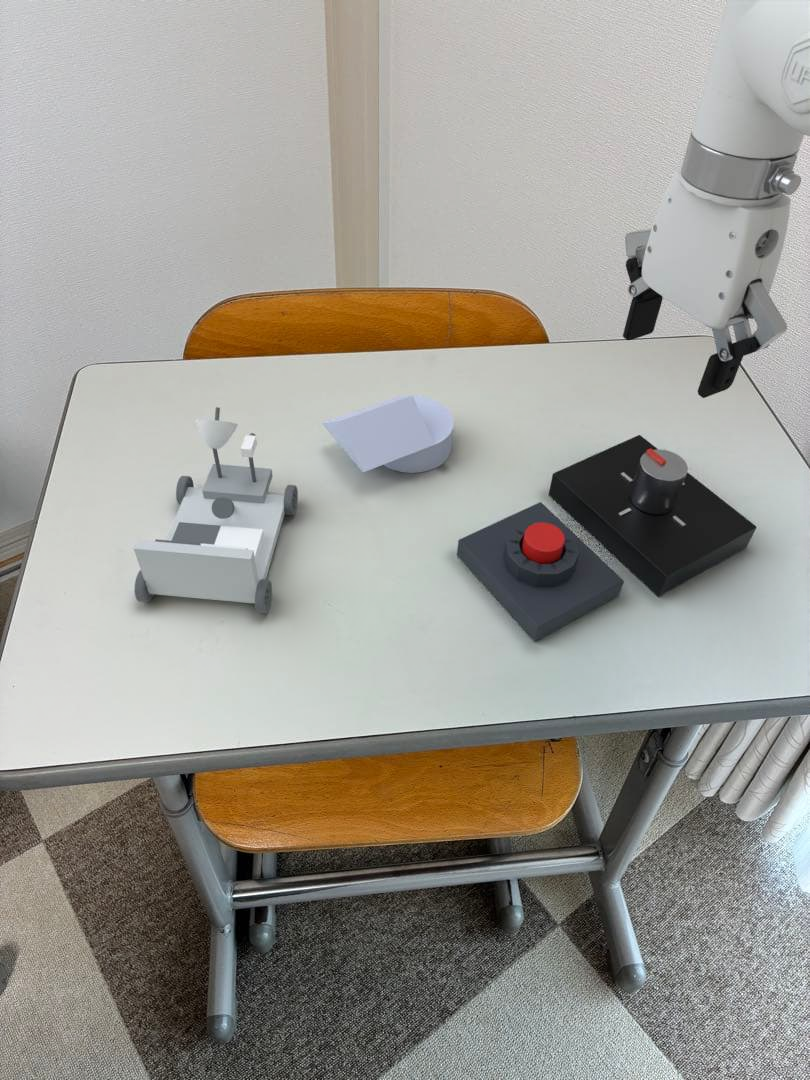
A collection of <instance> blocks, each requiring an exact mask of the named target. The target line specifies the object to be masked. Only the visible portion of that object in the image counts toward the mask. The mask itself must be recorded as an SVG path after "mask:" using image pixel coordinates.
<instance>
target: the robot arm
mask: <svg viewBox="0 0 810 1080" xmlns="http://www.w3.org/2000/svg"><path fill="white" fill-rule="evenodd" d="M690 131H691V132H690V134H689V139H688V142H687V147H686V149H685V154H684V157H683V161H682V164H681V166H679V167H678V168H677V169H676V170H675V172H674V174H673V176H672V177H671V180H670V181H669V184H668V186H667V187H666V191H665V192H664V195H663V197H662V200H661V202H660V205H659V208H658V210H657V213H656V215H655V218H654V220H653V223H652V227H651V228H648V229H638V230H635V231H631V232H627V233H626V234H625V237H624V239H625V240H624V241H625V252H626V257H627V260H626V261H625V268H626V269H625V270H626V272H627V276H628V278H629V281H630V284H629V285H628V288H627V292H628V295H629V296H630V297H631V298H632V299H631V302H630V305H629V310H628V314H627V318H626V321H625V324H624V325H625V326H624V329H623V333H622V337H623V338H624V340H626V341H633V340H635V339H638V338H641V337H645V336H647V335H651V334H652V333H654V330H655V327H656V324H657V320H658V316H659V313H660V310H661V307H662V303H663V299H666V300H667V301H668V302H670V303H671V304H672V305H674V306H675V307H677V308H679V309H680V310H681V311H683V312H684V313H686V314H687V315H689V316H690V317H692V318H693V319H695V320H696V321H698V322H699V323H701V324H702V325H704V326H706V327H707V328H710V329H711V331H712V336H713V340H714V344H715V348H716V353H713V354H711V355H710V356H709V358H708V360H707V363H706V366H705V369H704V372H703V374H702V377H701V380H700V382H699V386H698V389H697V395H698V396H700V397H701V398H702V399H705V398H708V397H711V396H712V395H716V394H719V393H722V392H724V391H727V390H728V389H729V388H731V386H732V385H733V383H734V381H735V379H736V376H737V373H738V371H739V368H740V365H741V364H742V361H743V358H744V356H747V355H750V354H754V353H756V352H758V351H759V352H760V351H761V350H765V349H767V348H768V347H770V344H772V343H773V342H775V341H776V340H778V338H780V337H781V336H783V334H785V333H786V331H787V330H788V325H787V322H786V320H785V319H784V317H783V316H782V314H781V312H780V311H779V309H778V308H777V306H776V305H775V302H774V300H772V298H771V296H770V291H771V290H772V287H773V284H774V280H775V276H776V274H777V270H778V267H779V263H780V260H781V256H782V252H783V249H784V244H785V240H786V235H787V231H788V226H789V219H790V211H791V201H792V199H791V198H790V197H789V196H791V195H793V194H795V192H797V190H798V189H799V187H800V185H801V183H802V178H801V176H800V175H799V174H796V173H795V171H794V167H795V164H796V161H797V159H798V153H799V151H800V149H801V148H800V147H801V146H802V142H803V140H804V137H805V136H807V137H810V0H726V2H725V6H724V9H723V13H722V16H721V20H720V24H719V28H718V32H717V35H716V39H715V43H714V46H713V50H712V54H711V58H710V61H709V65H708V69H707V73H706V77H705V80H704V82H703V87H702V91H701V95H700V97H699V101H698V106H697V110H696V112H695V117H694V120H693V124H692V128H691V130H690ZM749 319H750V320H754V321H755V323H756V330H755V331H754V332H753V333H752V329H751V325H750V320H749ZM729 327H732V329H733V333H734V337H735V342H733V340H732V336H731V332H730V328H729Z"/></svg>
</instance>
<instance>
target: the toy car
mask: <svg viewBox="0 0 810 1080" xmlns="http://www.w3.org/2000/svg"><path fill="white" fill-rule="evenodd" d="M220 412H221V407H215V412H214V419H205V418H204V419H203V418H200V419H197V418H196V419H195V424H196V427H197V429H198V431H199V434H200V436H201V438H202V440H203V442H204V443H205V445H206V446H208V447H209V448H210V449H212V453H213V458H214V463H212V465H211V468H210V471H209V473H208V476H207V478H206V481H205V483H204V485H203V487H195V486H194V480H193V477H191V476H190V475H181V476H180V477H179V478H178V480H177V483H176V488H175V497H176V503H177V504H178V505H179V507H178V509H177V512H176V515H175V517H174V520H173V522H172V524H171V527H170V529H169V532H168V533H167V536H166V539H155V541H154V540H142V539H137V540H136V542H135V545H134V547H133V551H134V553H135V557H136V560H137V562H138V566H139V568H140V570H139V571H138V573H137V575H136V576H135V583H134V597H135V600H137V601H138V603H139V602H140V603H150V602H151V601H152V599H153V597H154V595H158V596H170V597H182V598H191V599H193V598H194V599H203V600H214V601H225V602H234V603H235V602H236V603H245V604H254V609H255V612H256V613H257V614H267V613H268V612H269V610H270V607H271V602H272V595H273V594H272V593H273V587H272V581H271V580H270V579H267V577H268V573H269V571H270V566H271V563H272V559H273V557H274V556H273V555H274V552H275V548H276V545H277V542H278V539H279V535H280V531H281V528H282V524H283V521H284V517H285V516H286V515H287V516H294V515H295V514H296V512H297V508H298V503H299V502H298V501H299V491H298V486H297V484H287V485H286V487H285V488H284V494H277V493H276V494H275V493H268V492H269V488H270V486H271V483H272V480H273V468H268V467H266V468H265V467H255V461H254V454H255V451H256V448H257V445H258V441H257V436H256V433H254V432H251V433H249V434H245V435H244V438H243V441H242V442H241V443H242V444H241V446H240V455H241V457H242V458H248V462H249V466H243V465H230V464H221V463H220V459H219V453H218V450H219V449H222V448H223V447H224V446H226V444H227V443H228V442H229V440H230V439H231V438H232V436H233V435H234V433H235V431H236V429H237V428H238V423H235V422H231V421H225V420H220Z"/></svg>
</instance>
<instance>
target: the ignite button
mask: <svg viewBox="0 0 810 1080" xmlns="http://www.w3.org/2000/svg"><path fill="white" fill-rule="evenodd" d="M564 542H565V537H564V534H563V532H562V531H561V530H560V529H559V528H558V527H556V526H554V525H552V524H549V523H535V524H533V525H531V526H529V527H528V528H527V529H526V531H525V534H524V539H523V545H522V550H523V553H524V554H525V556H526V557H527V558H528V559H529V560H531V561H533V562H536V563H539V564H550V563H553V562H555V561H557V560H558V559H559V558H560V556H561V554H562V550H563V546H564Z"/></svg>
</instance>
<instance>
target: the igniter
mask: <svg viewBox="0 0 810 1080" xmlns="http://www.w3.org/2000/svg"><path fill="white" fill-rule="evenodd" d="M535 523H549V524H552V525H554V526H556V527H558V528H559V529H560V530H561V531H562V532H563V534H564V537H565V542H564V546H563V550H562V554H561V556H560V558H559V559H558V560H557V561H555V562H553V563H550V564H539V563H536V562H533V561H531V560H529V559H528V558H527V557H526V556H525V554H524V553H523V550H522V545H523V539H524V534H525V531H526V529H527V528H528V527H529V526H531V525H533V524H535ZM456 556H457V557H458V558H459V559H460V560H461V562H462V563H463V564H464V565H465V566H466V567H467V568H468V569H469V570H470V571H471V573H472V574H473V575H474V576H475V578H477V579H478V581H479V582H480V583H481V584H482V585H483V586H484V587H485V588H486V590H487V591H488V592H489V593H490V594H491V595H492V596H493V597H494V598H495V599H496V601H497V602H498V603H499V604H500V605H501V606H502V607H503V608H504V609H505V611H506V612H507V613H508V614H509V615H510V616H511V617H512V619H513V620H514V621H515V622H516V623H517V624H518V625H519V627H521V629H522V630H523V631H524V632H525V633H526V634H527V635H528V636H529V637H530V639H531V640H532V641H533V642H538V641H539V640H541V639H543V638H544V637H547V636H548V635H550V634H552V633H554V632H555V631H557V630H559V629H561V628H563V627H565V626H566V625H568V624H570V623H572V622H574V621H576V620H578V619H580V618H581V617H584V616H585V615H587V614H589V613H590V612H593V611H594V610H596V609H598V608H599V607H602V606H603V605H605V604H607V603H608V602H610V601H613V600H614V599H616V598H618V597H619V596H620V594H621V591H622V589H623V586H624V583H625V580H623V578H622V577H621V576H620V575H618V573H617V572H615V571H614V569H612V568H611V567H610V566H609V565H608V564H607V563H606V562H605V561H604V560H603V559H602V558H601V557H600V556H599V555H597V554H596V553H595V552H594V551H593V550H592V549H591V548H590V547H589V546H588V545H587V544H586V543H585V542H584V541H583V540H582V539H580V538H579V537H578V536H577V535H576V534H575V533H574V531H572V530H571V529H570V528H569V527H568V526H567V525H566V524H565V523H563V521H561V519H560V518H559V517H557V516H556V514H554V513H553V512H552V511H551V510H550V509H549V508H548V507H547V506H546V505H545V504H544V503H543V502H541V501H539V502H537V503H535V504H532V505H530V506H529V507H526V508H525V509H522V510H519V511H518V512H515V513H514V514H511V515H509V516H507V517H505V518H503V519H501V520H498V521H496V522H494V523H492V524H490V525H488V526H485V527H483V528H481V529H479V530H477V531H474V532H473V533H470V534H468V535H465V536H464V537H461V538H459V539H458V540H457V550H456Z"/></svg>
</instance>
